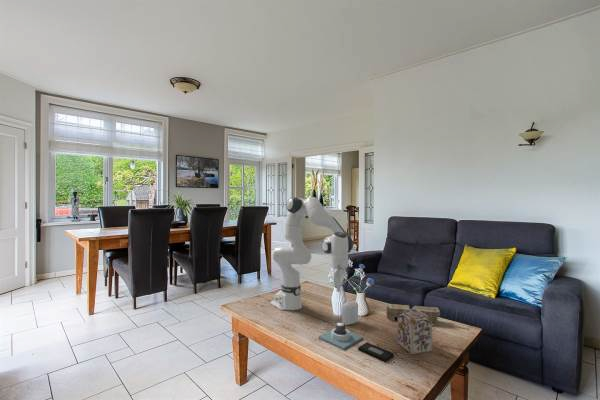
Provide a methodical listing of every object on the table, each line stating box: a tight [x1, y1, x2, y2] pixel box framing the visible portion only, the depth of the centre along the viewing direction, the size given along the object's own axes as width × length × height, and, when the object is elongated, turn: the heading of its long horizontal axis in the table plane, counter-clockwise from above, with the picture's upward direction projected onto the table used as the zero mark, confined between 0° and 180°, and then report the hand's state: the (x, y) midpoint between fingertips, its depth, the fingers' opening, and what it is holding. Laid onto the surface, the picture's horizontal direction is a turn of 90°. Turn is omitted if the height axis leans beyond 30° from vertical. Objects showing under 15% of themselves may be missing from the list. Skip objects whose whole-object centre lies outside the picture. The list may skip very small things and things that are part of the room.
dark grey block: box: [335, 322, 346, 335], centre depth 152 cm, size 5×5×6 cm
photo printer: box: [341, 300, 359, 326], centre depth 171 cm, size 10×4×12 cm, turn 123°
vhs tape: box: [357, 341, 395, 363], centre depth 138 cm, size 8×14×2 cm, turn 44°
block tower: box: [385, 303, 441, 326], centre depth 176 cm, size 8×8×29 cm
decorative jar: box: [396, 308, 433, 355], centre depth 144 cm, size 12×12×18 cm
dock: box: [318, 327, 364, 351], centre depth 152 cm, size 16×16×4 cm
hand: (339, 288), depth 161 cm, fingers open, 8 cm apart
